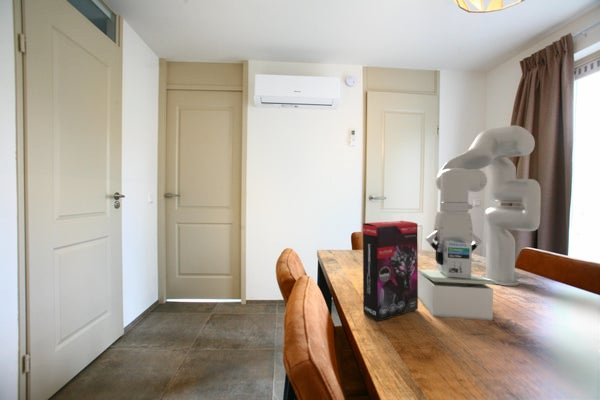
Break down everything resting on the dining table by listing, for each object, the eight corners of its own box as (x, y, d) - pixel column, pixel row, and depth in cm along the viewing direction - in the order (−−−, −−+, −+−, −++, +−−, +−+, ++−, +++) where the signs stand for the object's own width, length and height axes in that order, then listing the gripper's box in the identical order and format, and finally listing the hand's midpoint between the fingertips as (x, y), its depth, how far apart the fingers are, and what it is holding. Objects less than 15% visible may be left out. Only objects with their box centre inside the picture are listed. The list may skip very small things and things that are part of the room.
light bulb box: (472, 279, 74) (473, 242, 74) (446, 277, 76) (447, 241, 75) (457, 268, 85) (457, 236, 85) (435, 267, 86) (435, 235, 86)
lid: (467, 274, 86) (467, 271, 86) (493, 284, 72) (493, 281, 72) (418, 271, 88) (418, 269, 88) (433, 281, 75) (433, 278, 75)
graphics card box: (377, 323, 70) (378, 224, 70) (360, 312, 76) (361, 222, 76) (418, 310, 78) (420, 222, 78) (400, 302, 84) (401, 220, 84)
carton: (467, 300, 86) (467, 274, 86) (492, 320, 73) (493, 289, 72) (417, 297, 89) (418, 271, 88) (432, 316, 75) (433, 285, 75)
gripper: (477, 207, 82) (475, 262, 83) (420, 207, 85) (419, 260, 85) (491, 209, 75) (489, 269, 75) (428, 208, 77) (427, 266, 78)
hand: (452, 263), depth 80 cm, fingers closed on light bulb box, 6 cm apart
